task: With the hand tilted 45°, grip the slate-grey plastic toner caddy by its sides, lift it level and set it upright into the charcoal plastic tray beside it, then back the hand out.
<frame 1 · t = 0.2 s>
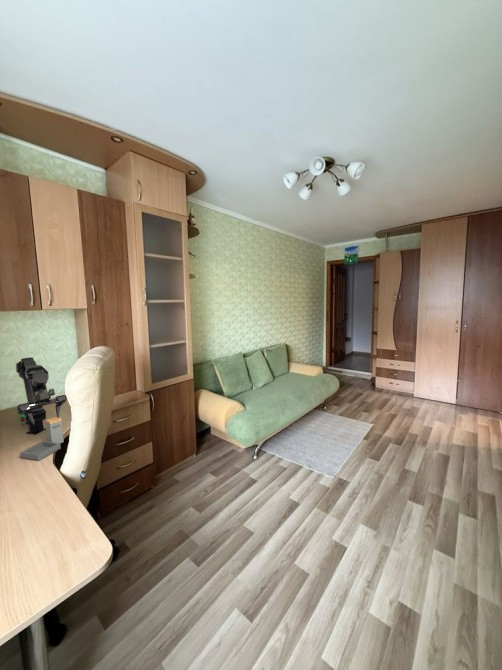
hand: (46, 420, 127), 15 cm above the table, tool tilted 35°, fingers open, 9 cm apart
tray: (41, 453, 126), on the table
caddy: (56, 442, 136), on the table
food container: (33, 421, 162), on the table
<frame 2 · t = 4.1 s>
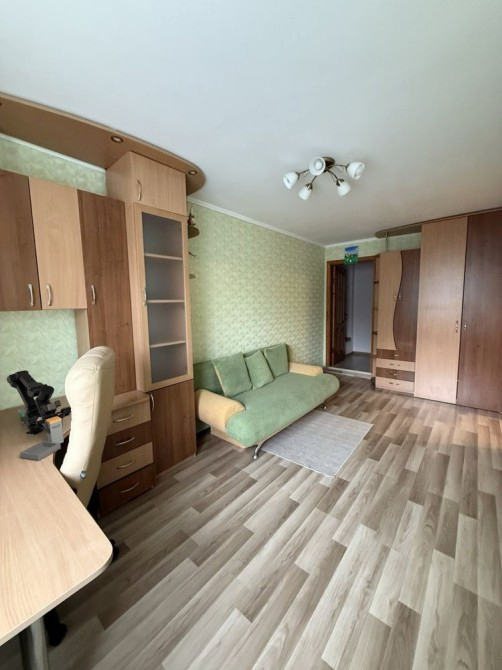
hand: (55, 430, 134), 7 cm above the table, tool tilted 45°, fingers closed on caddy, 5 cm apart
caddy: (56, 442, 136), on the table, touching gripper
everything else where it was.
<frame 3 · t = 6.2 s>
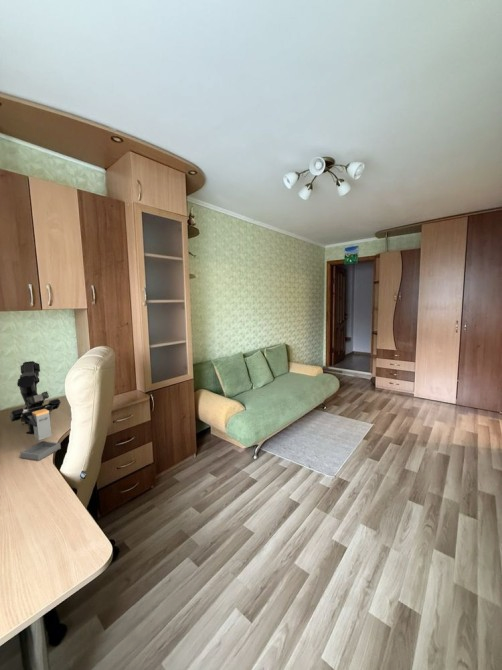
hand: (42, 424, 126), 14 cm above the table, tool tilted 45°, fingers closed on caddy, 5 cm apart
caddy: (43, 436, 127), point 7 cm above the table, touching gripper
everything else where it was.
when the fingers open (9 cm above the table, at t = 8.3 s): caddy drops 2 cm, resting on tray.
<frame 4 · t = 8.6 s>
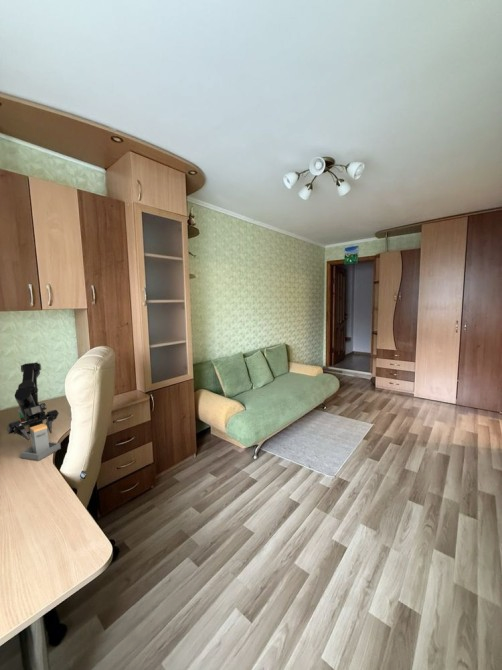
hand: (40, 436, 124), 9 cm above the table, tool tilted 45°, fingers open, 8 cm apart
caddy: (41, 452, 126), point 1 cm above the table, touching tray
everything else where it was.
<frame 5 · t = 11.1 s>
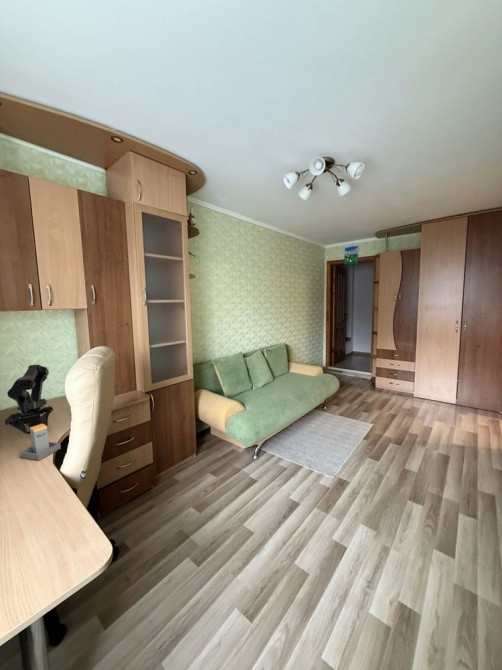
hand: (36, 430, 130), 9 cm above the table, tool tilted 40°, fingers open, 9 cm apart
nothing on the table moved.
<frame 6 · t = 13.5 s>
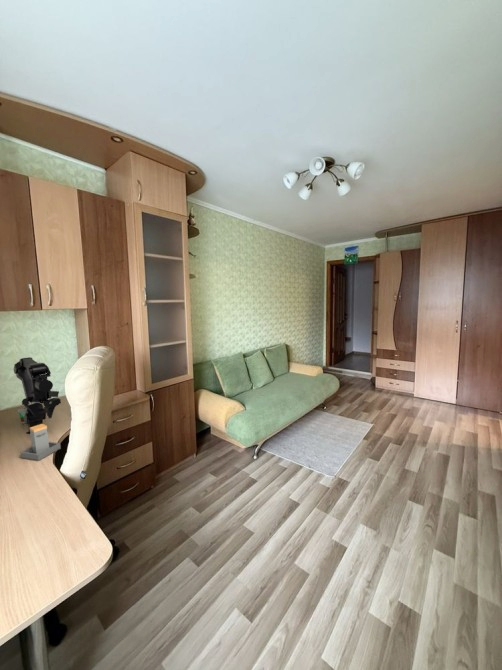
hand: (43, 417, 138), 12 cm above the table, tool pointing down, fingers open, 9 cm apart
nothing on the table moved.
at the end: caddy 0.1 cm off-centre on the tray, point 0.6 cm above the tray's base; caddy tilted 0°; the gripper is holding nothing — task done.
